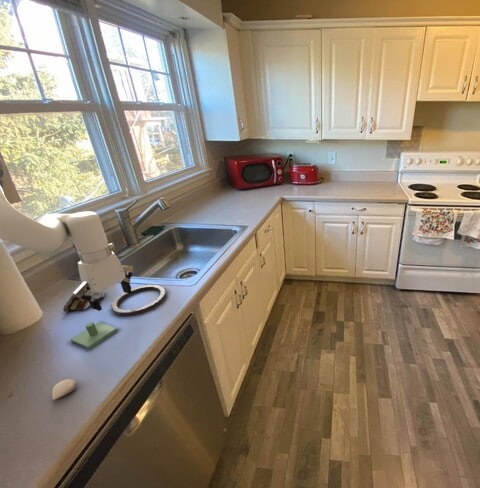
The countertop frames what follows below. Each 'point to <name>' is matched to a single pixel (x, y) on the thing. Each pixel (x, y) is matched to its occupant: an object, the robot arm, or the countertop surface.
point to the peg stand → (93, 334)
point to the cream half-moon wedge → (63, 388)
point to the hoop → (142, 309)
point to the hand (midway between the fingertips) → (113, 300)
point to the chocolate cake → (80, 302)
